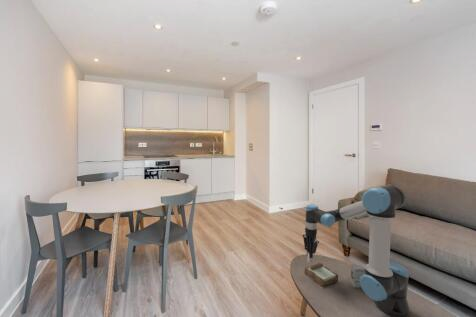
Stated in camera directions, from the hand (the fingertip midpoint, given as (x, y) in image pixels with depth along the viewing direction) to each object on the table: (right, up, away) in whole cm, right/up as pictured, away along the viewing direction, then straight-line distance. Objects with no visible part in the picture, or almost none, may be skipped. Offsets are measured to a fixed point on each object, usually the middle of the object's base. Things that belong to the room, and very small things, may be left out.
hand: (309, 261), depth 149 cm
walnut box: (+4, -6, -9) cm, 11 cm away
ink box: (+25, -7, -16) cm, 30 cm away
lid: (+5, -4, -9) cm, 11 cm away
